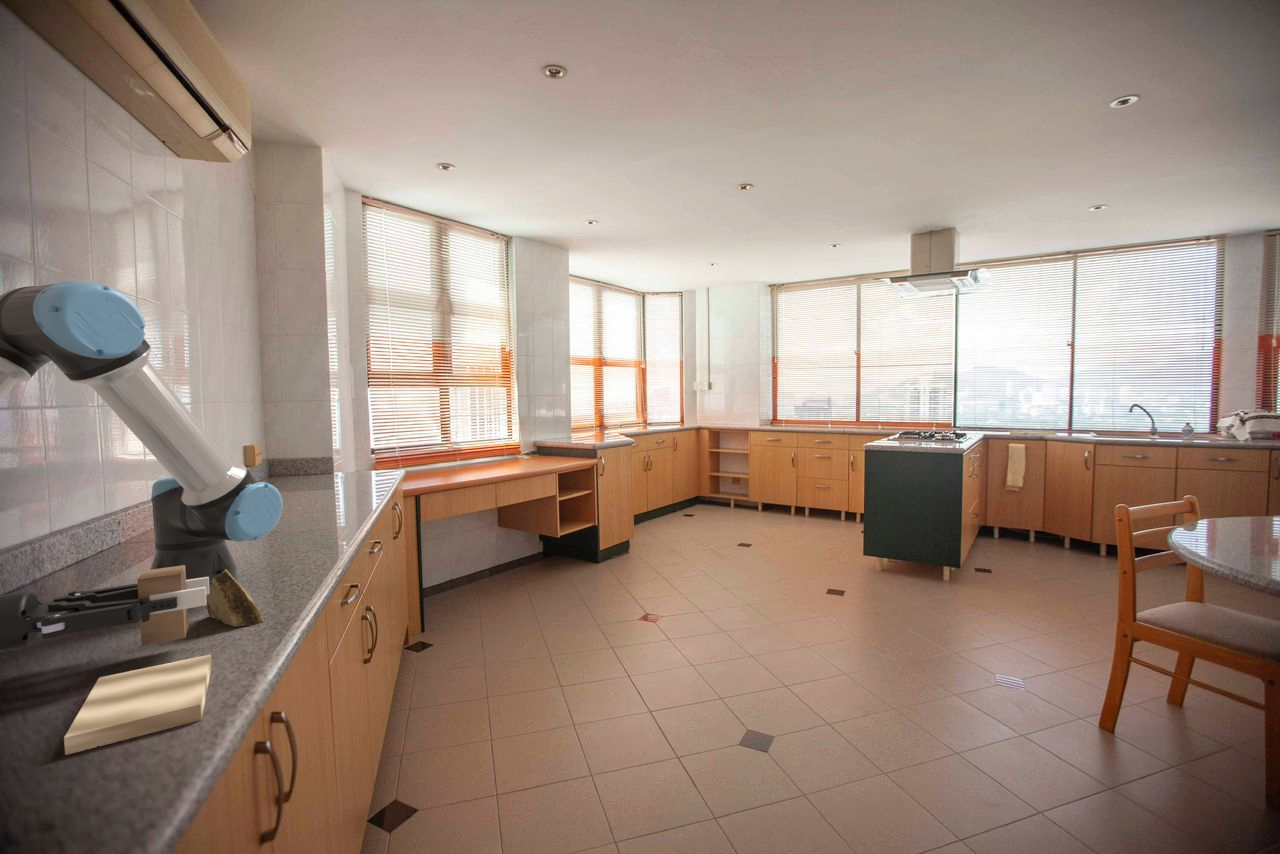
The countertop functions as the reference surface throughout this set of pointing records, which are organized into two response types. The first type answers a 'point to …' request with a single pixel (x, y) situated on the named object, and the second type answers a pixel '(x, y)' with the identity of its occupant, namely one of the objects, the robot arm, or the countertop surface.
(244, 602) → the rock
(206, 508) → the robot arm
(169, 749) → the countertop surface
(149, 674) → the cutting board
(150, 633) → the walnut block
